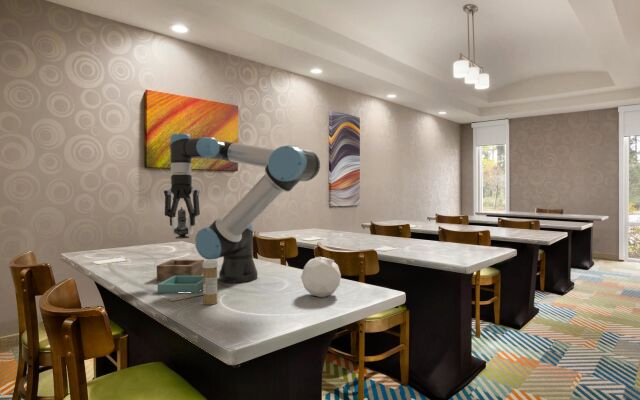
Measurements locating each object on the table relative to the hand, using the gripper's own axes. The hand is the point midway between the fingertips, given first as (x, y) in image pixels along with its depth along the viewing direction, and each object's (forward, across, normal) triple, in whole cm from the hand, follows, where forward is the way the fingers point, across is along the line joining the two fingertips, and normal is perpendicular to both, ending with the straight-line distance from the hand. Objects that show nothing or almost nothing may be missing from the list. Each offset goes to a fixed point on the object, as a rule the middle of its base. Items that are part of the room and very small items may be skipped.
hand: (182, 234), depth 157 cm
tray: (+19, -5, +9) cm, 22 cm away
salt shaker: (+2, 0, 0) cm, 2 cm away
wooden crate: (+19, +5, -8) cm, 21 cm away
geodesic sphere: (+20, -56, +13) cm, 60 cm away
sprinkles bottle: (+19, -22, +26) cm, 39 cm away
